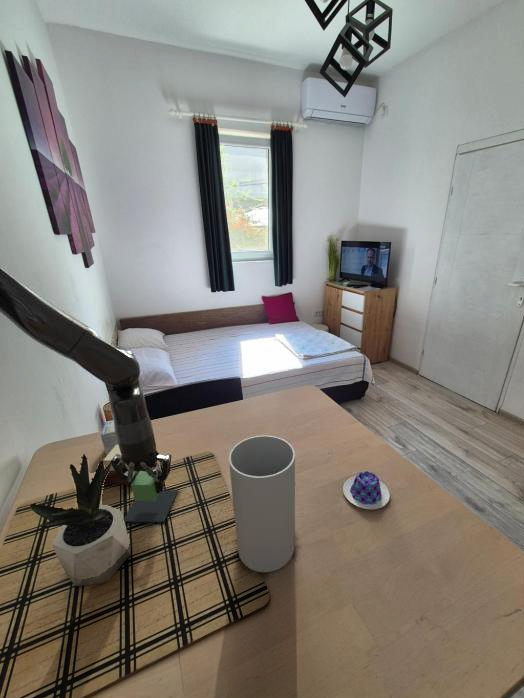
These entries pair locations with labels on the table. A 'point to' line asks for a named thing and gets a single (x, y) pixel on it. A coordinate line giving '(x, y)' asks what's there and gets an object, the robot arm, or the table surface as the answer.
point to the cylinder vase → (264, 501)
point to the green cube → (144, 487)
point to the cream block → (110, 457)
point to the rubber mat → (151, 509)
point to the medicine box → (109, 436)
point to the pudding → (366, 491)
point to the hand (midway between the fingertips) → (148, 490)
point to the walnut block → (115, 479)
